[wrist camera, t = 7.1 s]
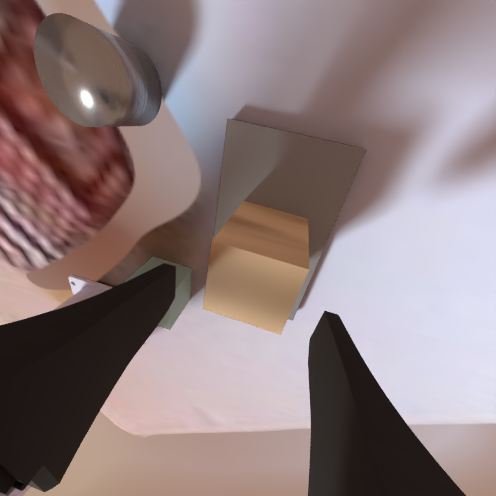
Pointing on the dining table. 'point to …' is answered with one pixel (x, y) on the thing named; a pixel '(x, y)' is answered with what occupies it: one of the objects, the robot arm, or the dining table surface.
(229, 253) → the oak block
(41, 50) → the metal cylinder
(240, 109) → the dining table surface
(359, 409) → the robot arm
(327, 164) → the slate board
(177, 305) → the olive green cube
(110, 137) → the dining table surface
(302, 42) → the dining table surface
